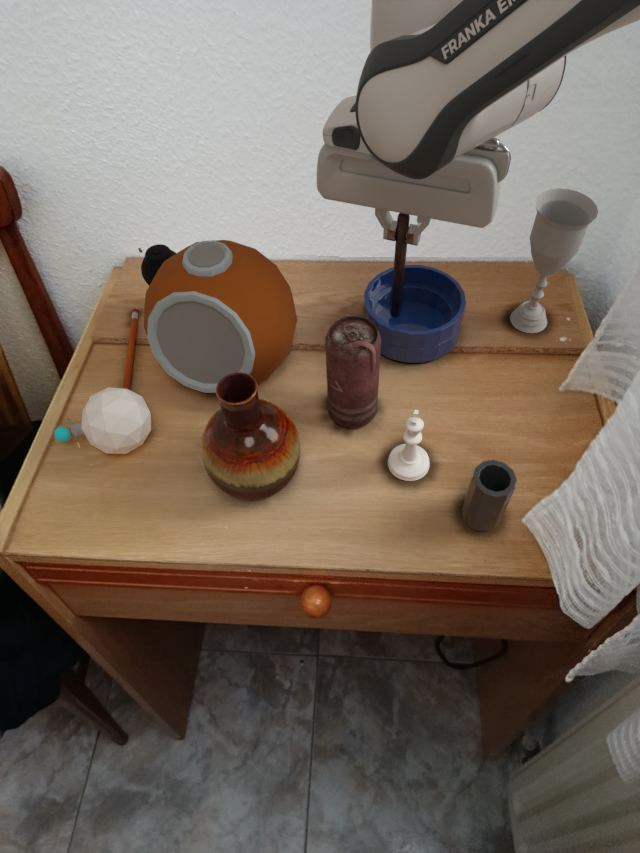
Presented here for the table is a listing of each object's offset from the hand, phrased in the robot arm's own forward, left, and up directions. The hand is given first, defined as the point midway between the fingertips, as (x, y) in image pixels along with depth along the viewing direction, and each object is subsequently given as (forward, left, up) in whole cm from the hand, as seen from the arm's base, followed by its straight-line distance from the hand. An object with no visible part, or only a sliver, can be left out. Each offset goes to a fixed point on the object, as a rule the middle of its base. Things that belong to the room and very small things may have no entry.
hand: (401, 239), depth 72 cm
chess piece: (-8, +21, -15) cm, 27 cm away
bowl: (-2, 0, -15) cm, 15 cm away
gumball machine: (+32, +6, -15) cm, 35 cm away
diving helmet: (+19, +13, -15) cm, 27 cm away
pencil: (+32, +18, -15) cm, 40 cm away
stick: (0, 0, -13) cm, 13 cm away
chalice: (-17, -7, -15) cm, 24 cm away
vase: (+9, +28, -15) cm, 33 cm away
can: (+1, +16, -15) cm, 22 cm away
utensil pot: (-17, +25, -15) cm, 34 cm away
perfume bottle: (+28, +30, -15) cm, 43 cm away
